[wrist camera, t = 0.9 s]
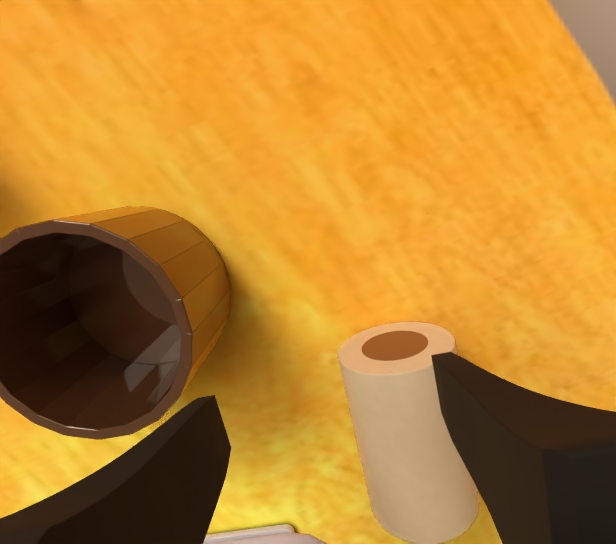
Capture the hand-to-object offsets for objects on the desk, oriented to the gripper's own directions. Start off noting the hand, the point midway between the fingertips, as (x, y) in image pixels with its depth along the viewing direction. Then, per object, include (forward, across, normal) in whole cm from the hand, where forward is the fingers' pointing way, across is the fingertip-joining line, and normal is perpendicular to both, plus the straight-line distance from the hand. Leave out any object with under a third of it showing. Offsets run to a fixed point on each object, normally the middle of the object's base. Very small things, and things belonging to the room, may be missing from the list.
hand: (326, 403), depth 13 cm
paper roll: (+7, -3, +6) cm, 10 cm away
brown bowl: (+10, +10, -3) cm, 14 cm away
